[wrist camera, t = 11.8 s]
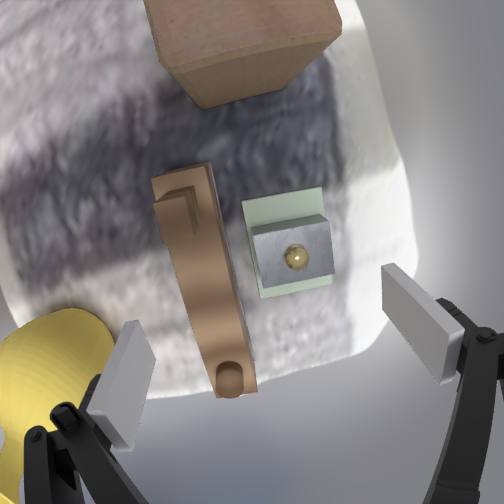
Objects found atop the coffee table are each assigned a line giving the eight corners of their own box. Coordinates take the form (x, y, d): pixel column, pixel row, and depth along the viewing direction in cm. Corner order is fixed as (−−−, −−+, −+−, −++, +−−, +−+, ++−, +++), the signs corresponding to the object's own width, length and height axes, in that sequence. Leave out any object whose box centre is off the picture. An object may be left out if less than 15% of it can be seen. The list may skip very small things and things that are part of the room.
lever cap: (250, 227, 36) (253, 239, 32) (320, 213, 36) (332, 223, 32) (260, 275, 38) (264, 293, 34) (326, 262, 38) (338, 278, 34)
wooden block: (263, 12, 29) (295, -94, 10) (288, 89, 32) (353, 33, 13) (176, 34, 29) (126, -60, 10) (199, 112, 32) (160, 75, 14)
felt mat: (241, 200, 36) (241, 201, 35) (319, 186, 36) (321, 187, 35) (260, 296, 40) (260, 299, 39) (331, 281, 40) (332, 283, 39)
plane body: (164, 171, 34) (130, 188, 22) (210, 161, 34) (199, 171, 22) (217, 363, 43) (214, 435, 31) (254, 357, 43) (262, 428, 31)
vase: (153, 371, 43) (111, 551, 16) (71, 387, 44) (9, 525, 17) (100, 273, 38) (-27, 442, 11) (19, 304, 38) (-92, 429, 12)
